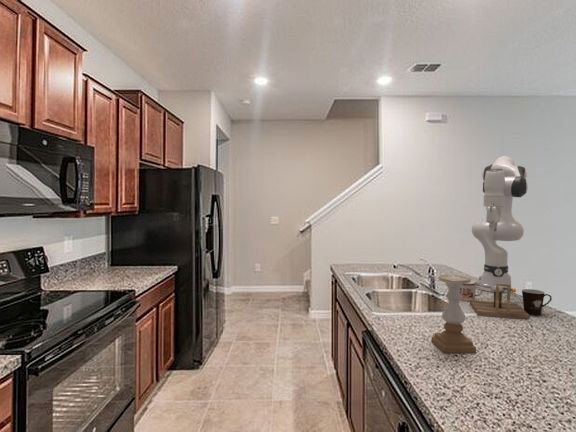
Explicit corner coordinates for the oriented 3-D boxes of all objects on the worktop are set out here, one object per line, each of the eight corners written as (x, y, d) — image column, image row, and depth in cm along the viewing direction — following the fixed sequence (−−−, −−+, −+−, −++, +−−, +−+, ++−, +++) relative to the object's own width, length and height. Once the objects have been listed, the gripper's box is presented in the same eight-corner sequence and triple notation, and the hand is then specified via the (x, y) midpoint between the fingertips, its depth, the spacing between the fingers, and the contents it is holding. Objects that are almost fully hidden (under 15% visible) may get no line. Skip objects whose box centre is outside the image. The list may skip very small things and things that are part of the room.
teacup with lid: (455, 300, 198) (455, 277, 197) (456, 296, 206) (457, 274, 206) (482, 303, 192) (482, 279, 192) (482, 299, 201) (482, 276, 200)
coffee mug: (521, 314, 173) (522, 292, 173) (520, 309, 181) (521, 288, 180) (553, 318, 168) (554, 295, 167) (550, 313, 175) (551, 291, 175)
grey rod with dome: (471, 286, 187) (471, 281, 187) (478, 285, 190) (478, 280, 189) (511, 295, 170) (511, 289, 170) (519, 293, 172) (519, 288, 172)
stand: (469, 304, 191) (470, 274, 190) (515, 307, 185) (516, 277, 185) (477, 315, 172) (478, 283, 171) (529, 319, 166) (530, 285, 166)
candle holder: (461, 341, 140) (462, 274, 139) (476, 353, 129) (478, 280, 128) (430, 341, 140) (432, 274, 139) (444, 353, 129) (445, 281, 128)
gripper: (498, 202, 175) (498, 233, 175) (503, 203, 192) (502, 231, 192) (483, 202, 179) (482, 232, 179) (489, 203, 196) (488, 231, 196)
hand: (493, 232), depth 186 cm, fingers open, 8 cm apart
